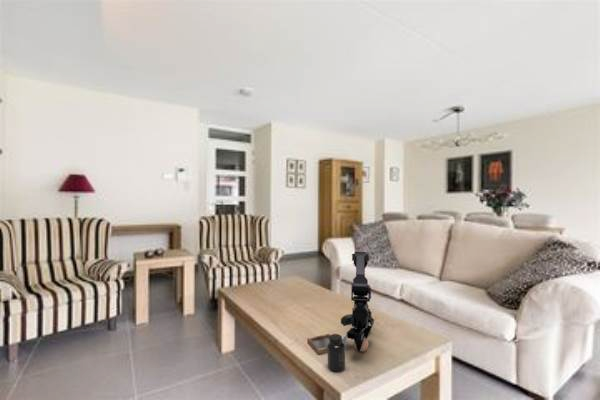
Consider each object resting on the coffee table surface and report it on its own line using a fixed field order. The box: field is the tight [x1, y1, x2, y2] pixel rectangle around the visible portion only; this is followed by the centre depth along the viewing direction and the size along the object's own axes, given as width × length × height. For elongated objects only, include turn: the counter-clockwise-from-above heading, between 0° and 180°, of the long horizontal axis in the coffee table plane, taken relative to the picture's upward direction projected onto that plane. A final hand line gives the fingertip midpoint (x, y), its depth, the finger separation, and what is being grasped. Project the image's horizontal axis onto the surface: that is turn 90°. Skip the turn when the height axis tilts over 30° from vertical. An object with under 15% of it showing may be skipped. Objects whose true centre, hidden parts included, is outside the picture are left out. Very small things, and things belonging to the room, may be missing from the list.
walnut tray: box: [307, 333, 331, 356], centre depth 126 cm, size 11×11×2 cm
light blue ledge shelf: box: [342, 334, 349, 347], centre depth 122 cm, size 16×2×4 cm, turn 149°
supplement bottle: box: [326, 333, 346, 373], centre depth 110 cm, size 7×7×12 cm
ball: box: [353, 338, 369, 352], centre depth 121 cm, size 6×6×6 cm
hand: (361, 346), depth 121 cm, fingers open, 6 cm apart
